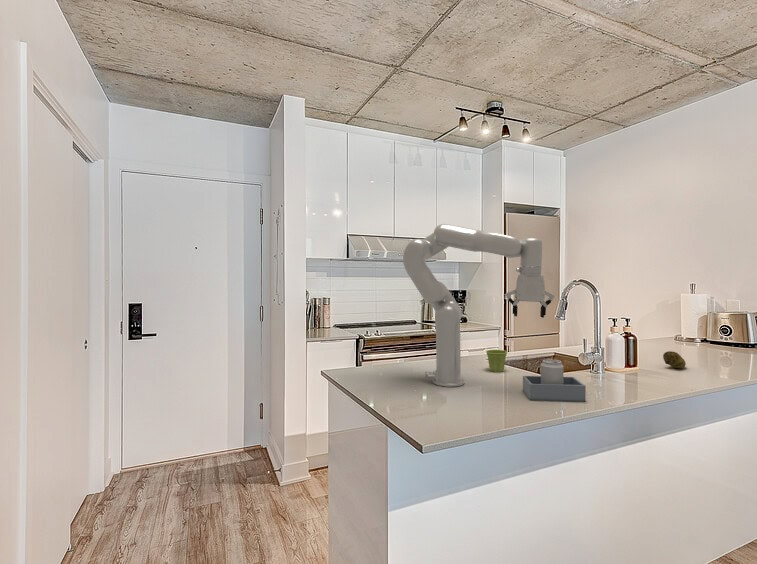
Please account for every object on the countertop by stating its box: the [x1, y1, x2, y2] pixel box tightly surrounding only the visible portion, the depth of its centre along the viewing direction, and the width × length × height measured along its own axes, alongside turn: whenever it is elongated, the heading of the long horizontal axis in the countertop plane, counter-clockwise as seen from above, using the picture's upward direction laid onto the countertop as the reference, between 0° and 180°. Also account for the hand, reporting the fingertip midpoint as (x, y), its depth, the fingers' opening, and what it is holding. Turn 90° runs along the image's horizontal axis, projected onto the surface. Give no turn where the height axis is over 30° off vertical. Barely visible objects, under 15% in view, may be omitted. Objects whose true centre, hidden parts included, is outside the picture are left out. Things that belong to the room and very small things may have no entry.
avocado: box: [662, 350, 687, 370], centre depth 188 cm, size 8×13×8 cm, turn 108°
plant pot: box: [485, 349, 508, 373], centre depth 187 cm, size 9×9×9 cm
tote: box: [522, 375, 587, 403], centre depth 148 cm, size 18×12×6 cm, turn 82°
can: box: [540, 358, 564, 385], centre depth 148 cm, size 8×8×12 cm
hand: (528, 316), depth 158 cm, fingers open, 9 cm apart
